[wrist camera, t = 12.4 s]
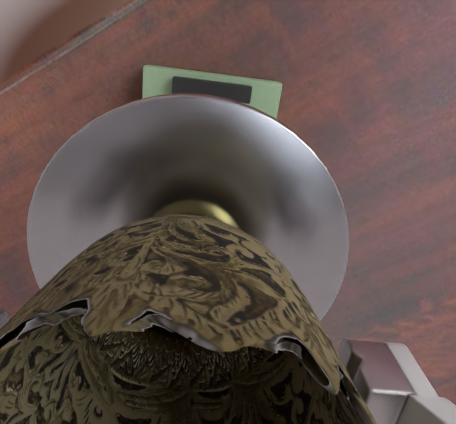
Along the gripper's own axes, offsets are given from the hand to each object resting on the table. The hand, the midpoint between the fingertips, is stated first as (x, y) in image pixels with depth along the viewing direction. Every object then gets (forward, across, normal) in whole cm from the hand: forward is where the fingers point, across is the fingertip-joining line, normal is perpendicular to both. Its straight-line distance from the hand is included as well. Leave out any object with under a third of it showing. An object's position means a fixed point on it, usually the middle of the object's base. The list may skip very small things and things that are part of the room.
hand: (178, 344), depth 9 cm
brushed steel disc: (+6, 0, 0) cm, 6 cm away
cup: (+4, 0, 0) cm, 4 cm away
